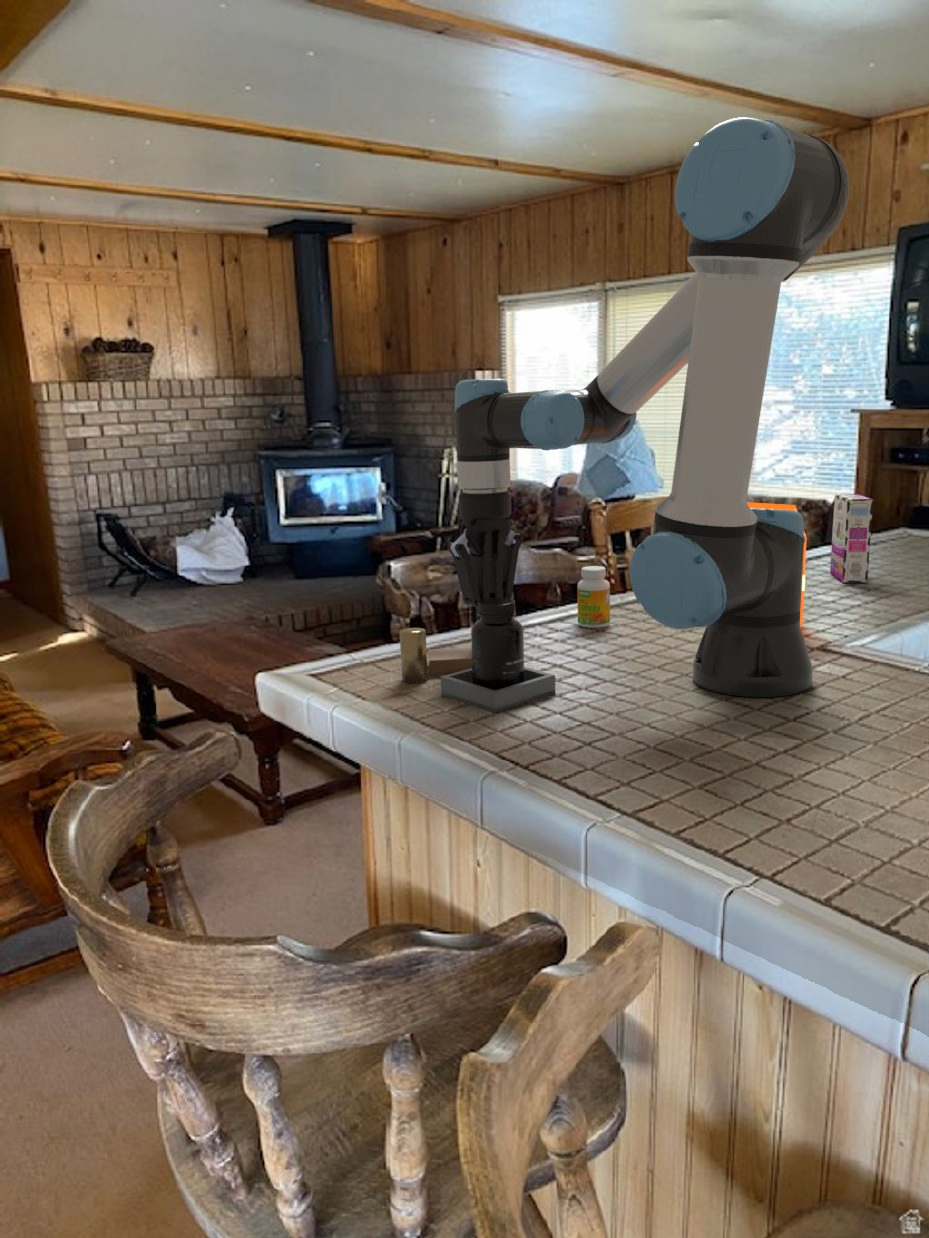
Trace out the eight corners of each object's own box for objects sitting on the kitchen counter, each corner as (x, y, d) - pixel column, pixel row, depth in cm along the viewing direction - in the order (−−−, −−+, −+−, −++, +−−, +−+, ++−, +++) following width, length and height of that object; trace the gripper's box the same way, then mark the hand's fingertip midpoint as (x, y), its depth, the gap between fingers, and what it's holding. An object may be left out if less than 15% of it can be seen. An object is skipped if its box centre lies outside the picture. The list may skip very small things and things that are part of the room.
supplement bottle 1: (521, 699, 120) (518, 607, 117) (468, 698, 122) (464, 606, 119) (528, 683, 127) (525, 595, 124) (478, 682, 128) (474, 595, 125)
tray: (555, 693, 124) (555, 675, 123) (495, 712, 117) (494, 693, 117) (500, 677, 132) (500, 660, 131) (441, 694, 125) (440, 676, 124)
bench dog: (433, 679, 132) (430, 630, 131) (412, 684, 130) (409, 635, 128) (417, 674, 135) (414, 626, 133) (397, 679, 133) (394, 631, 131)
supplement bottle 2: (573, 627, 158) (573, 570, 156) (582, 620, 163) (581, 564, 161) (605, 629, 156) (605, 571, 154) (613, 622, 161) (613, 565, 159)
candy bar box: (869, 583, 184) (874, 498, 180) (842, 584, 184) (847, 499, 181) (854, 573, 194) (859, 492, 191) (829, 573, 195) (833, 493, 191)
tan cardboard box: (493, 674, 135) (492, 657, 134) (430, 677, 134) (429, 660, 134) (489, 662, 140) (489, 646, 140) (429, 665, 140) (428, 649, 139)
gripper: (500, 484, 142) (505, 636, 148) (432, 493, 134) (440, 653, 140) (535, 487, 137) (538, 645, 142) (466, 495, 129) (472, 662, 134)
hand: (489, 648), depth 141 cm, fingers closed
